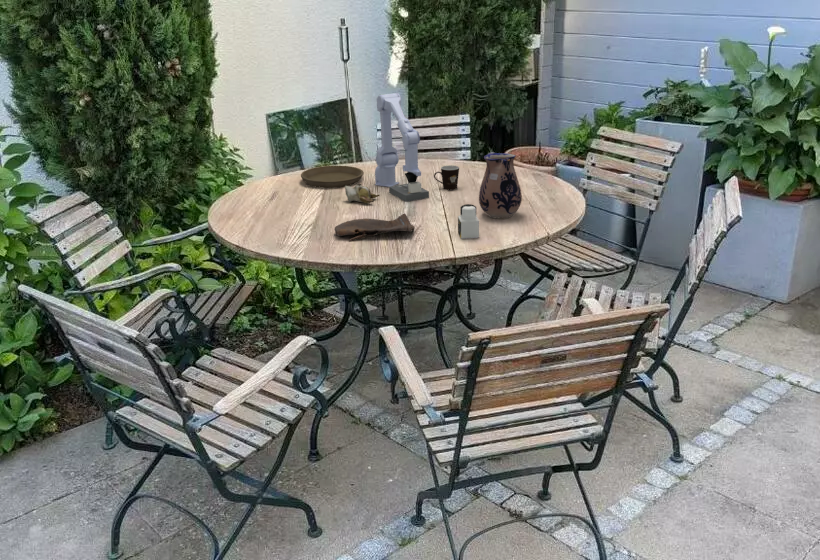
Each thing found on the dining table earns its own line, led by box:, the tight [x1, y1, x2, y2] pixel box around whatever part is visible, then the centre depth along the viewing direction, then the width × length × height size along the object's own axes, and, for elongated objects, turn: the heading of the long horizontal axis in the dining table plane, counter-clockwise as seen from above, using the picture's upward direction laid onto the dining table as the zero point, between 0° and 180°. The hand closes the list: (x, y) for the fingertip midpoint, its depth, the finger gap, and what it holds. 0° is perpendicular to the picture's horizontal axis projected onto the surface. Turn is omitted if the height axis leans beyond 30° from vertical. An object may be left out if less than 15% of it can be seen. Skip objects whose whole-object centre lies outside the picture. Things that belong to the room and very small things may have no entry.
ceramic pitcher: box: [478, 151, 523, 219], centre depth 295 cm, size 18×21×25 cm
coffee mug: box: [433, 164, 460, 191], centre depth 337 cm, size 12×9×10 cm
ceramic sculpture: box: [344, 183, 381, 204], centre depth 322 cm, size 11×9×15 cm
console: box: [388, 183, 430, 203], centre depth 330 cm, size 17×12×3 cm
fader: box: [407, 181, 422, 193], centre depth 323 cm, size 3×5×4 cm, turn 117°
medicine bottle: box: [457, 203, 480, 240], centre depth 275 cm, size 7×7×12 cm
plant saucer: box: [300, 165, 364, 189], centre depth 357 cm, size 31×31×5 cm
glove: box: [334, 213, 415, 242], centre depth 283 cm, size 32×20×5 cm, turn 93°
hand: (412, 188), depth 326 cm, fingers closed
